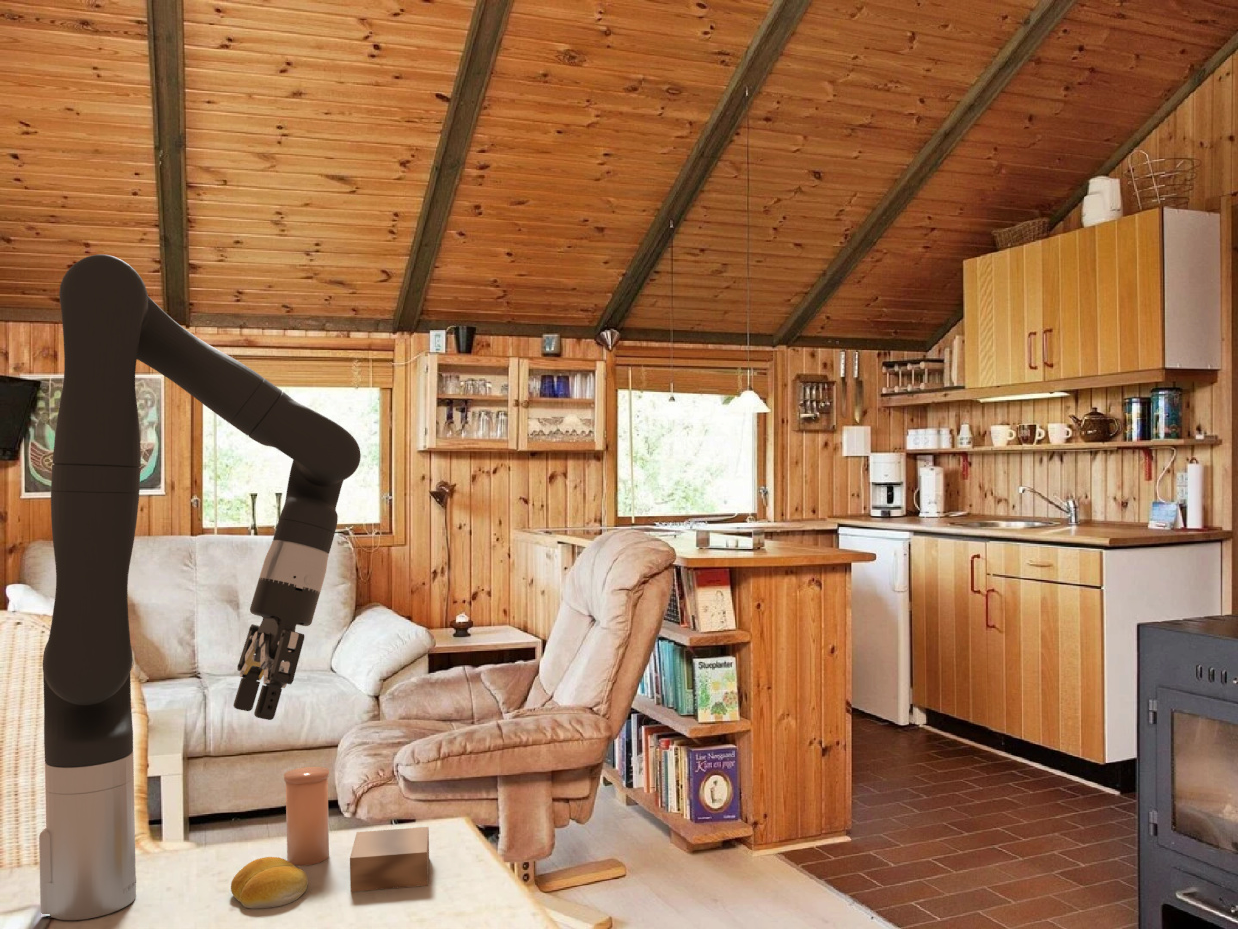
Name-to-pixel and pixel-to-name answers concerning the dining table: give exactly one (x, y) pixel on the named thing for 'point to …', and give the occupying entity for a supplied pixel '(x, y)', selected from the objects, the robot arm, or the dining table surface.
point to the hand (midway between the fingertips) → (252, 714)
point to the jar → (307, 815)
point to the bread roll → (268, 883)
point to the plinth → (390, 859)
